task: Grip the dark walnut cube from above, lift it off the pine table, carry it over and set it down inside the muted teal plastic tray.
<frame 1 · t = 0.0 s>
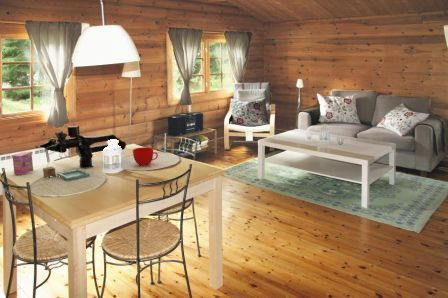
hand: (43, 147, 247), 17 cm above the table, tool horizontal, fingers open, 9 cm apart
tray: (73, 176, 247), on the table
cube: (49, 176, 247), on the table
ceramic cup: (146, 165, 271), on the table
box: (24, 173, 255), on the table
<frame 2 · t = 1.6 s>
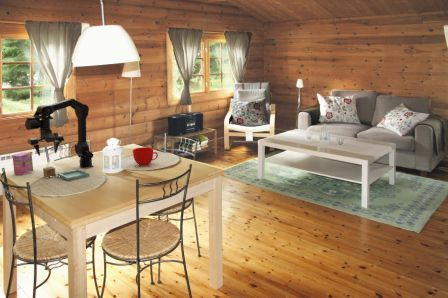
hand: (47, 154, 244), 13 cm above the table, tool pointing down, fingers open, 9 cm apart
nothing on the table moved.
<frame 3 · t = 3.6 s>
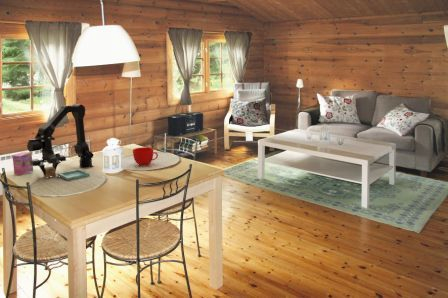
hand: (49, 174, 247), 1 cm above the table, tool pointing down, fingers closed on cube, 5 cm apart
cube: (49, 176, 247), on the table, touching gripper
everything else where it was.
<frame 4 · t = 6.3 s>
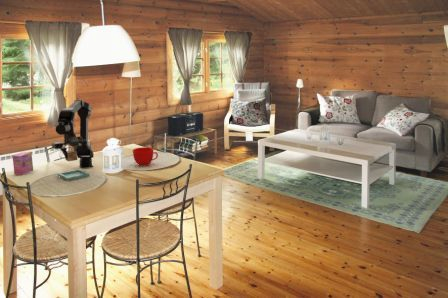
hand: (71, 158, 244), 11 cm above the table, tool pointing down, fingers closed on cube, 5 cm apart
cube: (71, 159, 244), point 10 cm above the table, touching gripper
everything else where it was.
when the fingers open (3 cm above the table, at t = 8.7 s): cube drops 1 cm, resting on tray.
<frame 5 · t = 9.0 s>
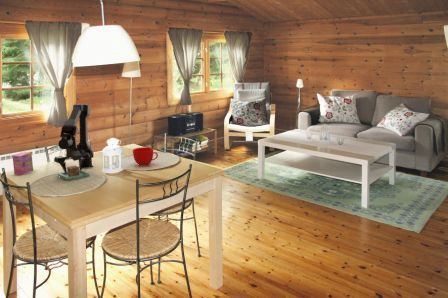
hand: (73, 171, 246), 3 cm above the table, tool pointing down, fingers open, 9 cm apart
cube: (73, 175, 247), point 1 cm above the table, touching tray
everything else where it was.
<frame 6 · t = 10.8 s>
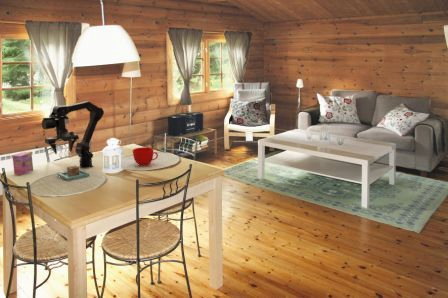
hand: (63, 152, 254), 12 cm above the table, tool pointing down, fingers open, 9 cm apart
nothing on the table moved.
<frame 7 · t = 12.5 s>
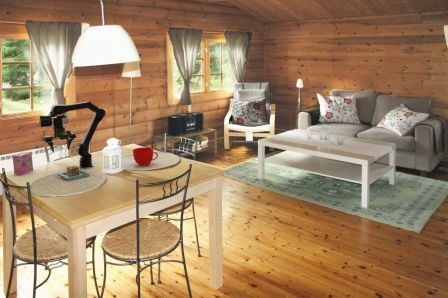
hand: (60, 151, 258), 12 cm above the table, tool pointing down, fingers open, 9 cm apart
nothing on the table moved.
at the end: cube 0.0 cm off-centre on the tray, point 0.6 cm above the tray's base; cube tilted 0°; the gripper is holding nothing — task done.
